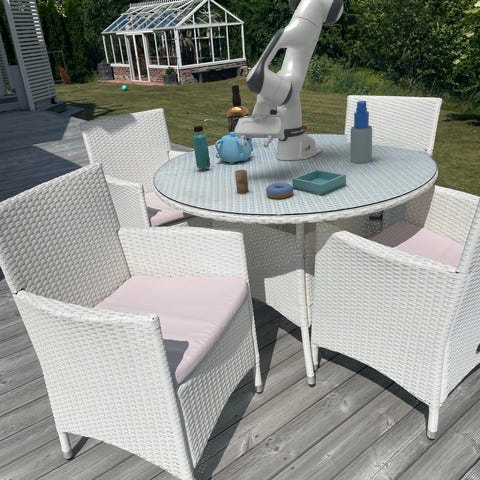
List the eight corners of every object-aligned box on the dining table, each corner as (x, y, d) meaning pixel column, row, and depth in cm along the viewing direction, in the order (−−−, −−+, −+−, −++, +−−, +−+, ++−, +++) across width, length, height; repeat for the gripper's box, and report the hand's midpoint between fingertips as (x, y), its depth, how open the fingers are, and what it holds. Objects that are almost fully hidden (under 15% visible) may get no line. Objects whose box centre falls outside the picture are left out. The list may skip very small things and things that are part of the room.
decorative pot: (212, 164, 214) (208, 136, 209) (229, 155, 227) (226, 128, 221) (242, 165, 207) (239, 136, 201) (257, 156, 219) (255, 128, 213)
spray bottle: (351, 158, 200) (352, 100, 190) (372, 157, 197) (373, 99, 187) (349, 163, 193) (349, 103, 182) (370, 163, 190) (372, 102, 179)
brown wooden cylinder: (243, 188, 175) (241, 169, 172) (251, 191, 172) (249, 170, 169) (234, 192, 173) (232, 172, 169) (242, 194, 170) (240, 173, 166)
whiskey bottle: (252, 145, 242) (247, 83, 229) (248, 150, 233) (242, 85, 220) (233, 146, 245) (227, 84, 231) (229, 150, 236) (222, 87, 223)
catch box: (317, 179, 177) (316, 169, 176) (345, 185, 167) (345, 174, 166) (292, 188, 170) (292, 178, 168) (321, 195, 160) (321, 185, 158)
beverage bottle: (209, 171, 202) (203, 127, 194) (195, 172, 204) (188, 128, 196) (212, 167, 208) (207, 124, 200) (199, 168, 210) (193, 125, 201)
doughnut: (260, 197, 164) (261, 185, 162) (274, 190, 171) (274, 178, 169) (284, 203, 159) (285, 190, 157) (297, 195, 166) (298, 183, 164)
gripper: (236, 112, 182) (228, 141, 178) (283, 111, 173) (275, 142, 169) (242, 121, 187) (234, 150, 183) (288, 120, 178) (280, 151, 174)
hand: (254, 146), depth 176 cm, fingers open, 8 cm apart
